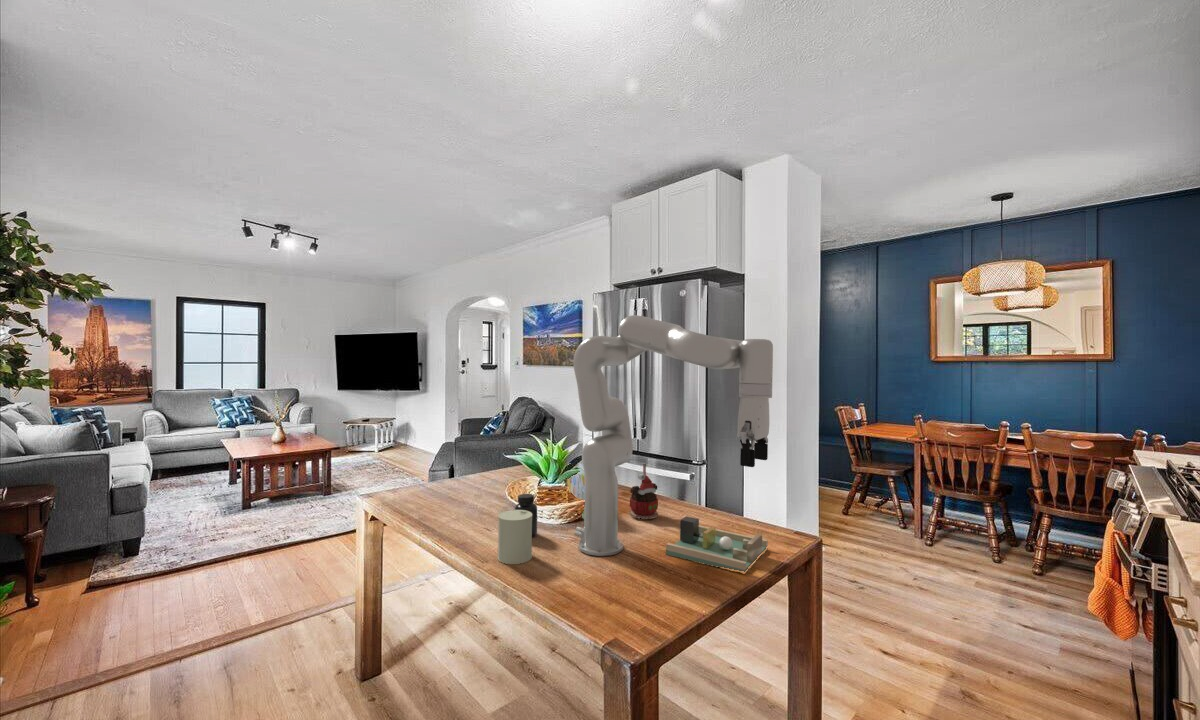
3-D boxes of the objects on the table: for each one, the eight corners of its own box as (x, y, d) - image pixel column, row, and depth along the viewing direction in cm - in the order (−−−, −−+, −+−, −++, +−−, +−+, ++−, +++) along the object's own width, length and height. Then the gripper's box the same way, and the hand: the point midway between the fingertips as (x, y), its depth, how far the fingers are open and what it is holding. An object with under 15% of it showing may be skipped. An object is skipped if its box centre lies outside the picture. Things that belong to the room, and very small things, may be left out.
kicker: (678, 541, 143) (678, 520, 143) (687, 535, 149) (687, 515, 149) (706, 548, 139) (707, 527, 139) (715, 541, 144) (715, 520, 144)
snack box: (601, 520, 166) (601, 474, 166) (585, 522, 164) (585, 476, 164) (579, 502, 186) (580, 462, 186) (565, 503, 184) (566, 463, 184)
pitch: (665, 554, 138) (666, 544, 138) (695, 533, 155) (695, 524, 155) (744, 574, 126) (744, 563, 126) (767, 549, 142) (767, 540, 142)
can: (539, 555, 136) (539, 511, 136) (515, 567, 128) (516, 520, 128) (514, 548, 141) (515, 505, 141) (490, 558, 133) (490, 514, 133)
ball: (717, 550, 138) (717, 537, 138) (721, 546, 141) (722, 533, 141) (729, 553, 136) (730, 540, 136) (734, 549, 139) (734, 536, 139)
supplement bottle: (539, 531, 154) (539, 493, 154) (534, 539, 148) (534, 499, 147) (517, 530, 155) (518, 492, 155) (511, 538, 148) (512, 498, 148)
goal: (732, 558, 133) (733, 540, 133) (744, 547, 141) (744, 530, 141) (751, 562, 130) (751, 544, 130) (761, 551, 138) (762, 534, 138)
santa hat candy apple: (646, 510, 177) (647, 459, 177) (664, 517, 170) (665, 464, 170) (622, 515, 171) (623, 462, 171) (640, 523, 164) (641, 468, 164)
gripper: (751, 388, 128) (750, 455, 128) (727, 392, 114) (725, 466, 114) (781, 390, 124) (780, 459, 124) (760, 393, 110) (758, 471, 110)
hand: (754, 462), depth 119 cm, fingers open, 9 cm apart
